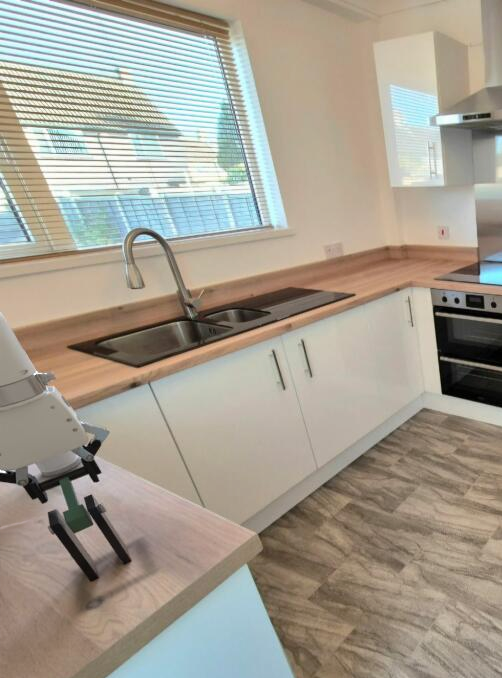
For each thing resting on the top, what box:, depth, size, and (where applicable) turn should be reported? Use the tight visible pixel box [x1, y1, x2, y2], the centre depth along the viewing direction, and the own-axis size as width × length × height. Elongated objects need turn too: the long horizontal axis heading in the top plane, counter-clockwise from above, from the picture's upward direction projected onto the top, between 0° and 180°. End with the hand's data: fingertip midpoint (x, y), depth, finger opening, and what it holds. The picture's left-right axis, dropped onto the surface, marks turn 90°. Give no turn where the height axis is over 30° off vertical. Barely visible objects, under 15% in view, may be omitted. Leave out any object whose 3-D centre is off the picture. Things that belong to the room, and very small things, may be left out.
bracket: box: [47, 493, 132, 583], centre depth 65 cm, size 10×8×13 cm
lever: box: [38, 465, 94, 535], centre depth 66 cm, size 13×6×2 cm, turn 48°
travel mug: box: [35, 451, 81, 477], centre depth 90 cm, size 6×7×20 cm
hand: (70, 488), depth 70 cm, fingers closed on lever, 5 cm apart
